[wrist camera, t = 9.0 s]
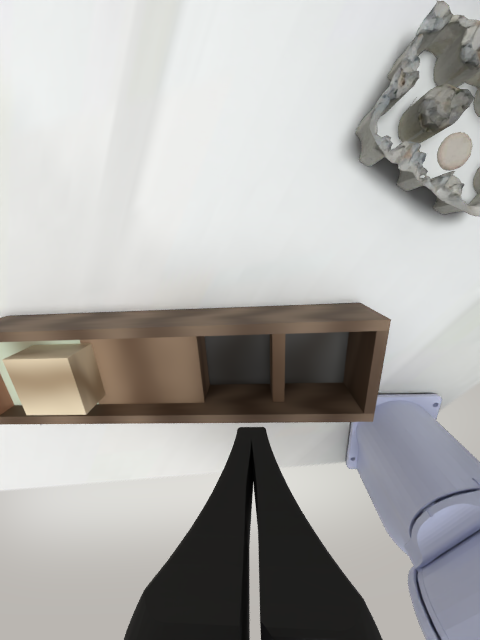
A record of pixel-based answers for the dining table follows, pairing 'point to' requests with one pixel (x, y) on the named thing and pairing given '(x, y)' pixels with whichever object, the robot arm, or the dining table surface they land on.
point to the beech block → (56, 379)
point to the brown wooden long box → (215, 363)
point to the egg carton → (431, 109)
